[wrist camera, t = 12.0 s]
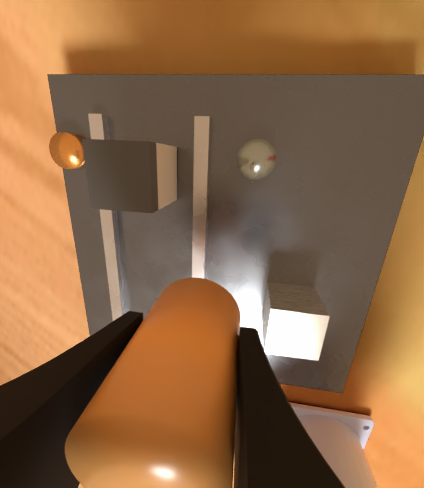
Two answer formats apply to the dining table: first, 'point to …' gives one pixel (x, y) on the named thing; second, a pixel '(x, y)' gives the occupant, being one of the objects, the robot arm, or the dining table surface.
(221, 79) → the panel
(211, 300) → the cap
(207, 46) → the dining table surface
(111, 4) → the dining table surface
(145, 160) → the lever
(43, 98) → the dining table surface
